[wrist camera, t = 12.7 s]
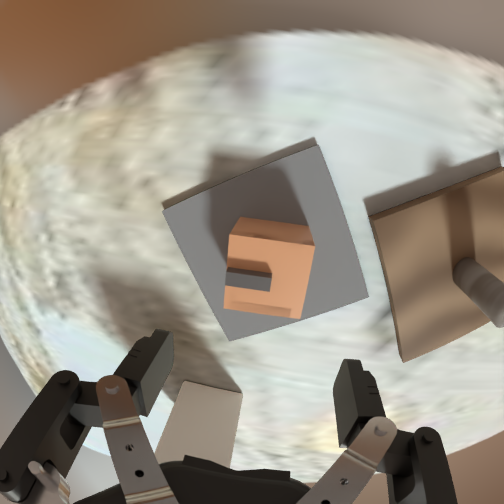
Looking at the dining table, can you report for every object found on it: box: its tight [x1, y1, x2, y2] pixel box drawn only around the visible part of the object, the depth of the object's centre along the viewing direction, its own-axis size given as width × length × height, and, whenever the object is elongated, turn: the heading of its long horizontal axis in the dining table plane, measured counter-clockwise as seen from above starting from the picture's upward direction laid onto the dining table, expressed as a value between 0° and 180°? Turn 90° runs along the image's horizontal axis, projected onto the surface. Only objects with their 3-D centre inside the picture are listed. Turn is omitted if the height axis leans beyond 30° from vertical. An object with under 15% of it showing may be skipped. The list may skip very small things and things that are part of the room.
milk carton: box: [154, 381, 243, 468], centre depth 24 cm, size 7×7×19 cm
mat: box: [162, 145, 369, 341], centre depth 25 cm, size 14×14×1 cm
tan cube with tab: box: [224, 217, 315, 319], centre depth 22 cm, size 6×6×6 cm
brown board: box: [369, 167, 504, 363], centre depth 20 cm, size 16×16×9 cm
